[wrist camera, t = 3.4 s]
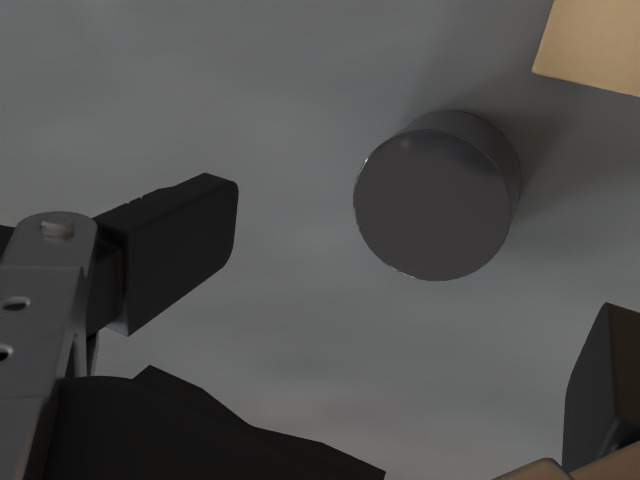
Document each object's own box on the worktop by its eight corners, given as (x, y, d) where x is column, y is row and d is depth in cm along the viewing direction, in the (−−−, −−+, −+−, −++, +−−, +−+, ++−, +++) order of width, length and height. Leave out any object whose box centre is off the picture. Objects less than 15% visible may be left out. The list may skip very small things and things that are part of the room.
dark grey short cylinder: (371, 220, 21) (340, 253, 18) (399, 95, 19) (369, 111, 16) (496, 260, 20) (483, 302, 17) (541, 130, 18) (535, 155, 15)
